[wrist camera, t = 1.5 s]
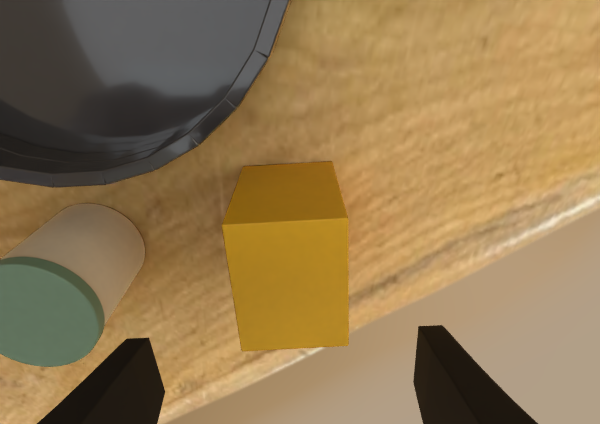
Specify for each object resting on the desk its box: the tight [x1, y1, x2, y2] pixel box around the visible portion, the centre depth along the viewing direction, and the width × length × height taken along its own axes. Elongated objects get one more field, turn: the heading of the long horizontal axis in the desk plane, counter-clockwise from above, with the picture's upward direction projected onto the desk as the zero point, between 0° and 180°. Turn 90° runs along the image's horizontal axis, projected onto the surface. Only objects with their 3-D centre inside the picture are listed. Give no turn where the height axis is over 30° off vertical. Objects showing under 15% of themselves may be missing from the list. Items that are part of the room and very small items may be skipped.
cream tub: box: [0, 203, 145, 367], centre depth 17 cm, size 5×5×6 cm
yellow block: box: [222, 161, 349, 351], centre depth 17 cm, size 6×4×6 cm
